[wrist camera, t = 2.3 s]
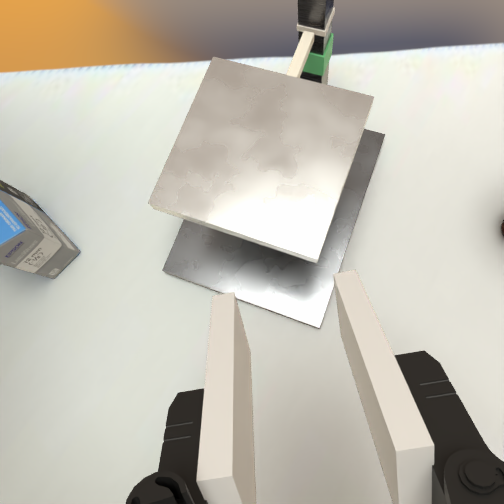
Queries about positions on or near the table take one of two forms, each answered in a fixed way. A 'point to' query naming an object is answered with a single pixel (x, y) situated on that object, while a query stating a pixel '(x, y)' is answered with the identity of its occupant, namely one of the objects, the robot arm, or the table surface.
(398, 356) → the robot arm
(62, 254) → the label tape box
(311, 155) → the pan
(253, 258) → the stand
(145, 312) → the table surface
